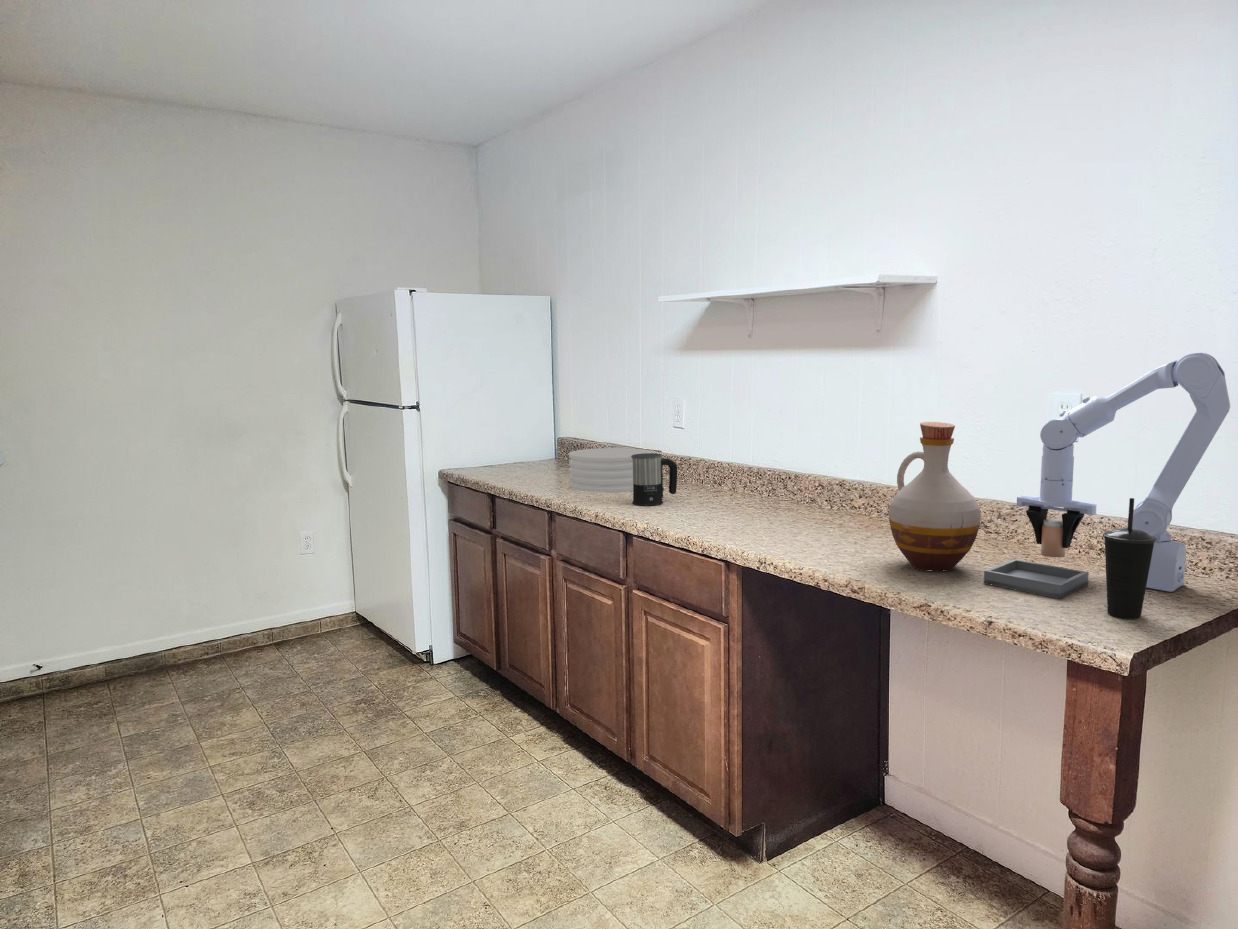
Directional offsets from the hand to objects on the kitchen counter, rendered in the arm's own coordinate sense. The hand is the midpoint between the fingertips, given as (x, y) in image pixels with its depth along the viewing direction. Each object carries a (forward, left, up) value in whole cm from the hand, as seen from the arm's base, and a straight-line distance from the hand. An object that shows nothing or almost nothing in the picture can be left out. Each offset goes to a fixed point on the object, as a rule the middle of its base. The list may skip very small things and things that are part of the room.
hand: (1053, 545), depth 169 cm
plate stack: (+148, -9, -6) cm, 148 cm away
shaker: (0, 0, -2) cm, 2 cm away
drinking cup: (-20, +21, -5) cm, 29 cm away
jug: (+19, +14, -5) cm, 24 cm away
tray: (-2, +13, -5) cm, 14 cm away
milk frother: (+116, +3, -6) cm, 117 cm away
